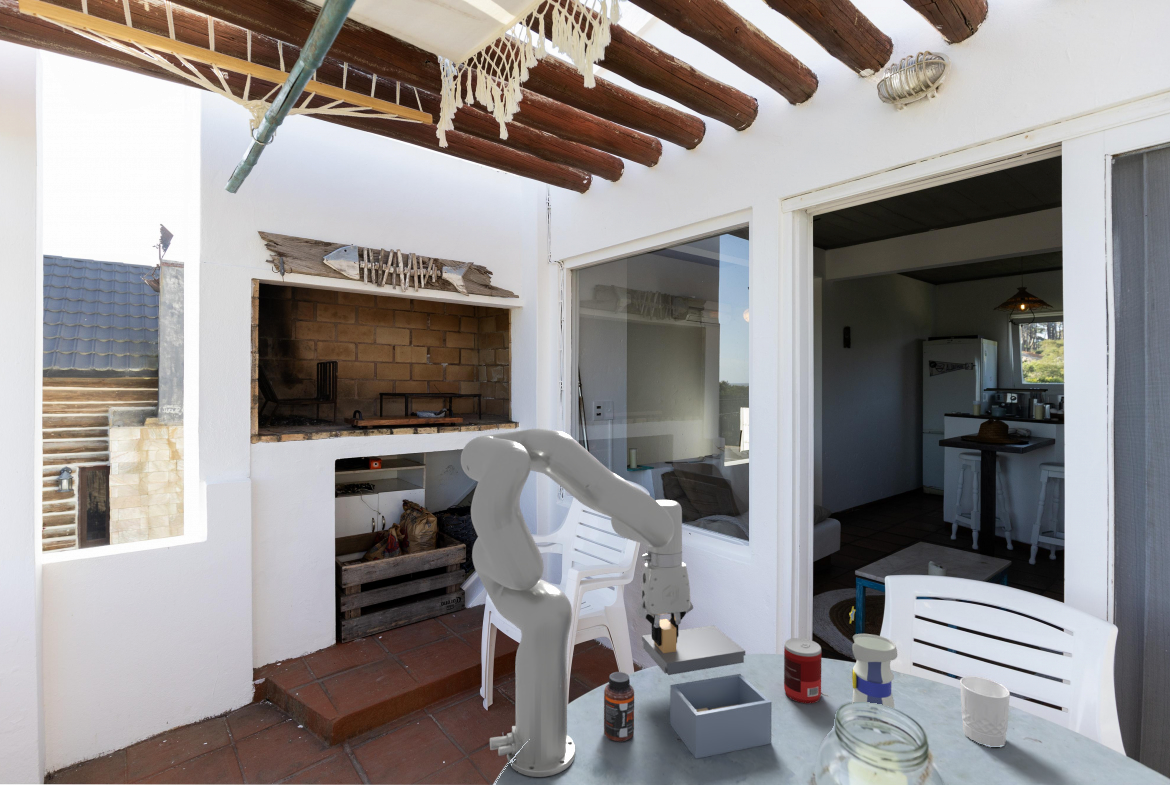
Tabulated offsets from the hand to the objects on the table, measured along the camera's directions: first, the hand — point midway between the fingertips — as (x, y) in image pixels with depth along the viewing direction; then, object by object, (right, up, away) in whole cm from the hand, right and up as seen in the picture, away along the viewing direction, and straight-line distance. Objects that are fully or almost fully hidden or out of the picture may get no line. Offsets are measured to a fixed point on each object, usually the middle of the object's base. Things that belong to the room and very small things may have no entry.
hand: (665, 641), depth 123 cm
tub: (+9, -13, -12) cm, 20 cm away
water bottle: (+38, -13, -14) cm, 43 cm away
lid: (+6, -4, +2) cm, 8 cm away
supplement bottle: (-11, -13, -12) cm, 21 cm away
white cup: (+60, -13, -13) cm, 63 cm away
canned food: (+31, -13, +2) cm, 34 cm away
